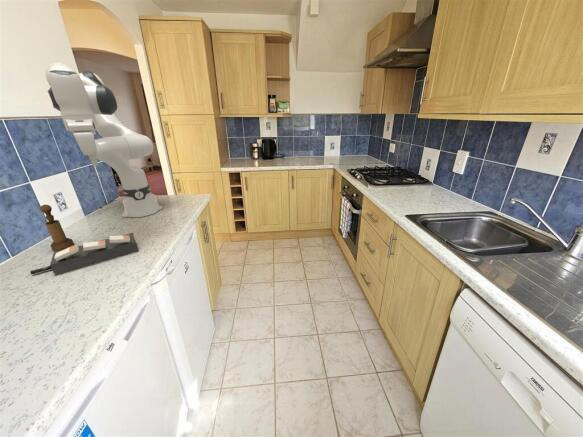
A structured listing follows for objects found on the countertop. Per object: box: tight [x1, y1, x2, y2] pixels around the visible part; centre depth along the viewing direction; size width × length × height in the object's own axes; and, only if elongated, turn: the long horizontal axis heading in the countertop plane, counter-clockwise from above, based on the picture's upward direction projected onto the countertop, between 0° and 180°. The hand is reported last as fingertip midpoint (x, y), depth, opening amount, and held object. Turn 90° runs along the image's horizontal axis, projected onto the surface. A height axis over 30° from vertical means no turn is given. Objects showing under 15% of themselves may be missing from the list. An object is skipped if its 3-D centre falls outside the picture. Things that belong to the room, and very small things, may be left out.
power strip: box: [29, 232, 139, 276], centre depth 87 cm, size 10×30×5 cm, turn 127°
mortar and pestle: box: [39, 204, 75, 253], centre depth 93 cm, size 7×6×18 cm
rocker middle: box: [82, 239, 106, 251], centre depth 86 cm, size 4×6×1 cm, turn 127°
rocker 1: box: [54, 244, 79, 261], centre depth 81 cm, size 4×6×1 cm, turn 127°
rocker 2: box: [108, 234, 130, 243], centre depth 90 cm, size 4×6×1 cm, turn 127°
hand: (95, 165), depth 88 cm, fingers closed
